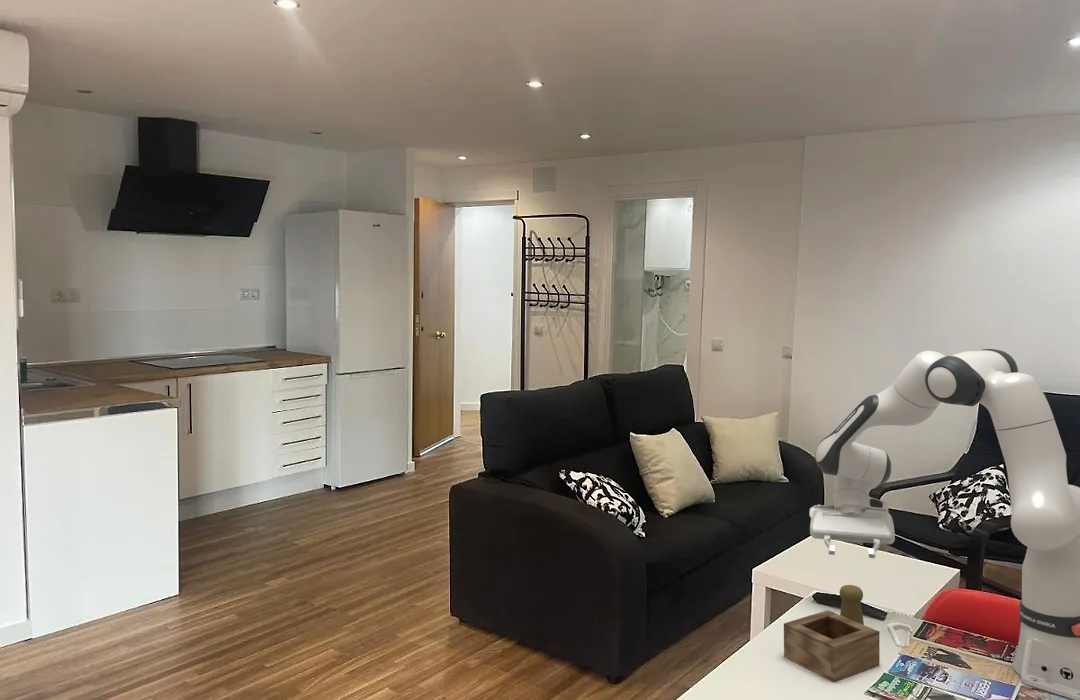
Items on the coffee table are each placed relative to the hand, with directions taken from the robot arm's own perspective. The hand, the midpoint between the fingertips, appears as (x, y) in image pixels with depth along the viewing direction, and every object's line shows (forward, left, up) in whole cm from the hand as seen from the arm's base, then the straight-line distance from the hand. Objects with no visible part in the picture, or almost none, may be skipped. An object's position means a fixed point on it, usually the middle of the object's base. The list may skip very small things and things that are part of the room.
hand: (851, 555), depth 199 cm
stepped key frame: (-15, +1, -16) cm, 22 cm away
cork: (-7, +9, -15) cm, 19 cm away
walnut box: (-15, +25, -15) cm, 33 cm away
